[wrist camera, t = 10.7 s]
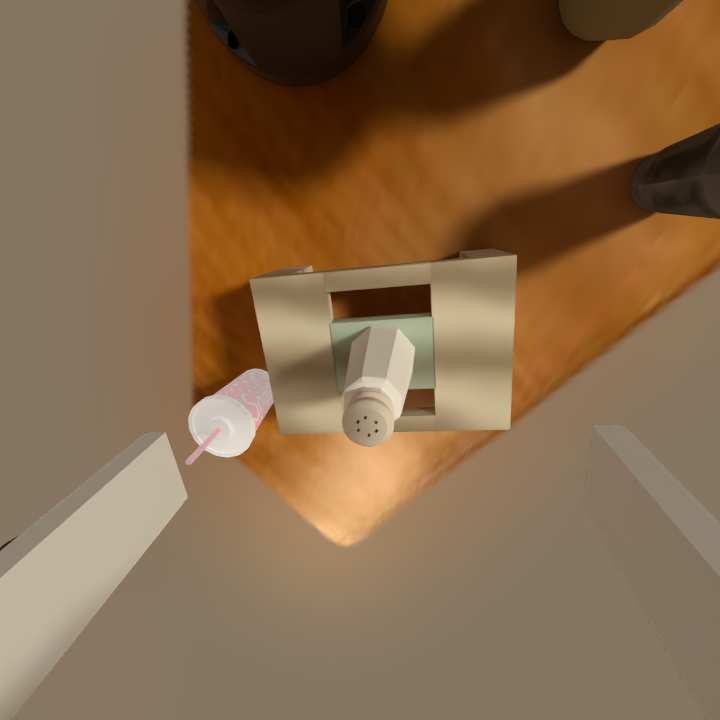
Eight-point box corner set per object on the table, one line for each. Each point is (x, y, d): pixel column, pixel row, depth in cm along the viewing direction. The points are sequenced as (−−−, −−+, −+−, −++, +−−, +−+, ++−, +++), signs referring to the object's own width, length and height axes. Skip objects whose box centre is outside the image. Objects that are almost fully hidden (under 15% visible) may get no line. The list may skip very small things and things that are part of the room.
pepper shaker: (338, 369, 30) (301, 442, 20) (366, 311, 28) (341, 361, 18) (397, 397, 31) (389, 484, 20) (428, 342, 29) (438, 408, 18)
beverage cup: (289, 410, 42) (233, 495, 29) (239, 412, 43) (163, 494, 30) (279, 360, 40) (215, 426, 27) (227, 363, 41) (141, 428, 28)
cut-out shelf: (282, 268, 36) (249, 279, 29) (493, 248, 33) (517, 255, 26) (304, 395, 41) (280, 434, 33) (490, 389, 38) (509, 429, 30)
